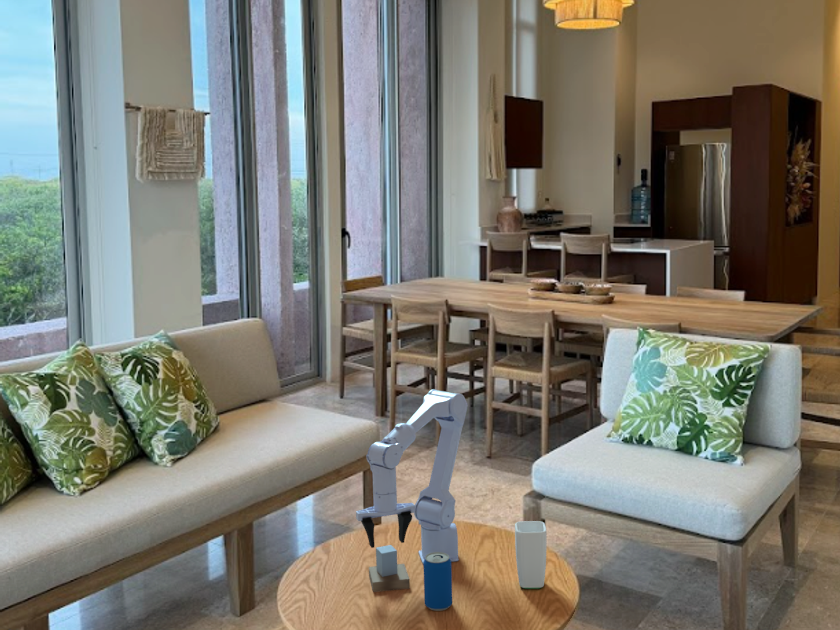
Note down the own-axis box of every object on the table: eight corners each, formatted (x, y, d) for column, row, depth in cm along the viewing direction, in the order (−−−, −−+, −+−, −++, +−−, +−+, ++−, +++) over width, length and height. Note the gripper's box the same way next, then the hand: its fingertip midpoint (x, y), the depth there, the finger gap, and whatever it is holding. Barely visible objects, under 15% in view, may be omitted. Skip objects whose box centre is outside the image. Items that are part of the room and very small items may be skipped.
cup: (544, 578, 223) (544, 520, 220) (547, 591, 215) (547, 532, 213) (515, 578, 223) (514, 521, 221) (517, 591, 216) (516, 532, 214)
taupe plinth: (404, 574, 228) (404, 563, 228) (409, 590, 219) (409, 578, 219) (369, 578, 227) (368, 566, 226) (373, 594, 218) (372, 582, 218)
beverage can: (455, 601, 212) (454, 553, 210) (447, 614, 206) (446, 564, 204) (429, 598, 214) (428, 550, 212) (420, 610, 208) (419, 561, 206)
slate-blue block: (391, 567, 226) (390, 544, 225) (397, 573, 222) (396, 550, 221) (376, 570, 224) (375, 547, 223) (382, 576, 220) (381, 553, 219)
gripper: (408, 481, 226) (409, 533, 228) (351, 489, 221) (354, 542, 223) (417, 490, 219) (418, 543, 221) (359, 499, 215) (361, 553, 217)
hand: (386, 543), depth 222 cm, fingers open, 7 cm apart
